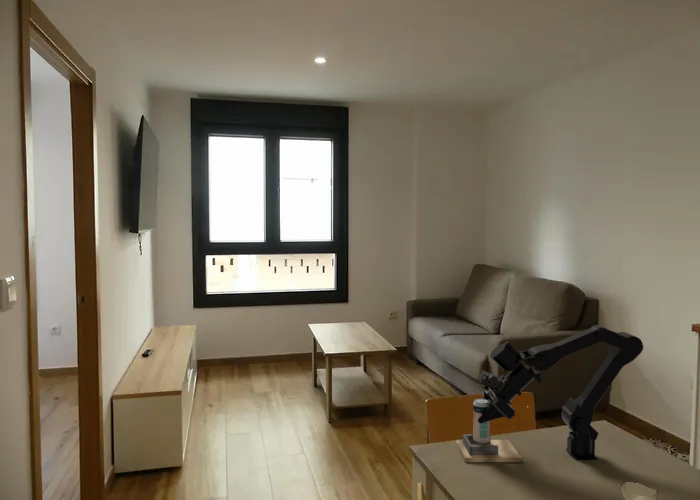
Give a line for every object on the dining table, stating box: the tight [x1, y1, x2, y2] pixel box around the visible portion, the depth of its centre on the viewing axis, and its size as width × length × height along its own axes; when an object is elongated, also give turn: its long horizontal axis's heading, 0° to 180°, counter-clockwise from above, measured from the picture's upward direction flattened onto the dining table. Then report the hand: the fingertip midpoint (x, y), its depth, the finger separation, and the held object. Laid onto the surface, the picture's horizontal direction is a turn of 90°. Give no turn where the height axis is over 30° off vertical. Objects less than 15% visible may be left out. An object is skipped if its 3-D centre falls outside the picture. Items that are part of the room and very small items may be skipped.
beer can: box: [472, 398, 491, 444], centre depth 151 cm, size 5×5×12 cm
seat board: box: [455, 433, 522, 463], centre depth 151 cm, size 16×12×4 cm
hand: (476, 418), depth 151 cm, fingers closed on beer can, 5 cm apart
